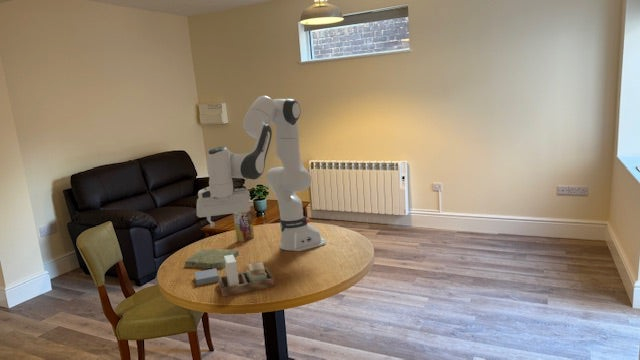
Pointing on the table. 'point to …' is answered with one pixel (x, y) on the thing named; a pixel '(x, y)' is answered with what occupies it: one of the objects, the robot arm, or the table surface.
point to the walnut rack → (245, 284)
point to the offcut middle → (256, 277)
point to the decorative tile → (210, 258)
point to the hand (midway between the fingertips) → (225, 225)
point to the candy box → (244, 226)
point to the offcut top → (256, 269)
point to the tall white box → (231, 270)
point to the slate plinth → (206, 276)
